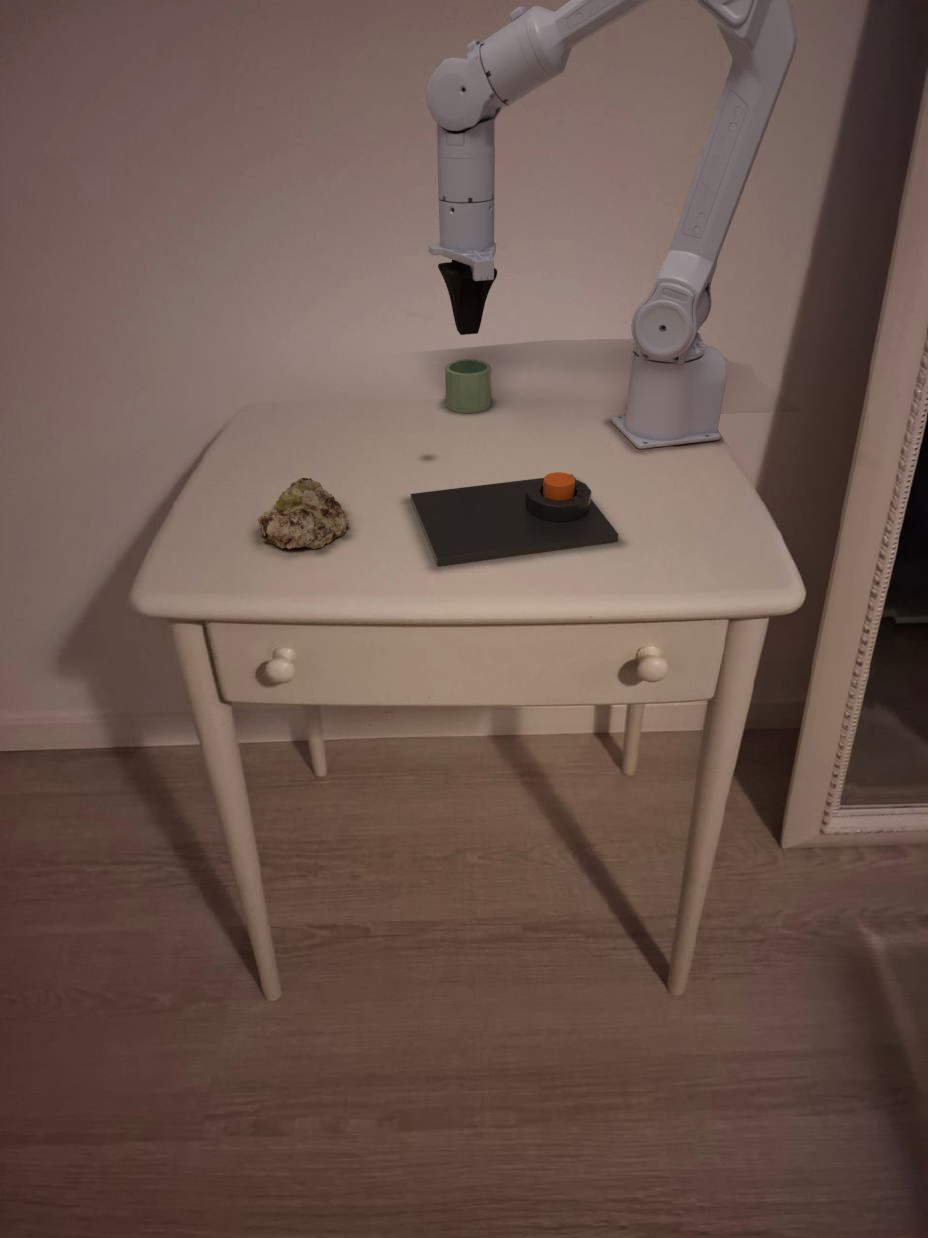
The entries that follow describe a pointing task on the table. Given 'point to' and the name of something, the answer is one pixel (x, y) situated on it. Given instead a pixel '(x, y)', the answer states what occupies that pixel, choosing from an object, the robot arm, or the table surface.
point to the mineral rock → (303, 517)
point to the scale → (507, 521)
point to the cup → (468, 385)
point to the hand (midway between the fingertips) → (467, 332)
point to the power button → (558, 486)
